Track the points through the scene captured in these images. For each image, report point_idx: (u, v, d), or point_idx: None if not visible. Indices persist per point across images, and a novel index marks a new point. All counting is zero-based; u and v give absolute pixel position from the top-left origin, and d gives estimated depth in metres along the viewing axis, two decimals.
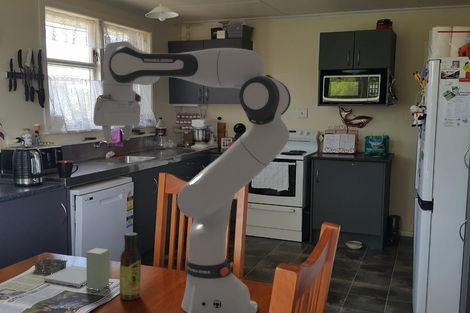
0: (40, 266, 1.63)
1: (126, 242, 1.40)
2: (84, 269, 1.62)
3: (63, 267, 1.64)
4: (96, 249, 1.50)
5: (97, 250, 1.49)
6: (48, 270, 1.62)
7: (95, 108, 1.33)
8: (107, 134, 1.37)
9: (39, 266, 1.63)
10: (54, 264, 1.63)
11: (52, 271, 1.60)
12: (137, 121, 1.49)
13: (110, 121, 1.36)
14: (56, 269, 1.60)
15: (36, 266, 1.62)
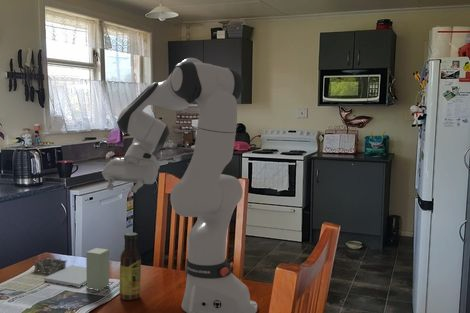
0: (40, 266, 1.63)
1: (126, 242, 1.40)
2: (84, 269, 1.62)
3: (62, 267, 1.63)
4: (96, 249, 1.50)
5: (97, 250, 1.49)
6: (47, 270, 1.62)
7: None
8: None
9: (39, 266, 1.63)
10: (53, 264, 1.63)
11: (51, 271, 1.60)
12: (146, 175, 1.59)
13: (110, 172, 1.64)
14: (55, 269, 1.60)
15: (36, 266, 1.62)
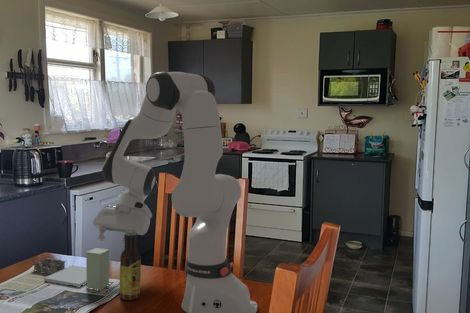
0: (39, 266, 1.63)
1: (126, 242, 1.40)
2: (84, 269, 1.62)
3: (61, 268, 1.63)
4: (96, 249, 1.50)
5: (97, 250, 1.49)
6: (46, 270, 1.61)
7: None
8: None
9: (38, 266, 1.63)
10: (52, 264, 1.62)
11: (49, 271, 1.60)
12: (138, 226, 1.55)
13: (101, 221, 1.60)
14: (53, 270, 1.60)
15: (35, 266, 1.62)
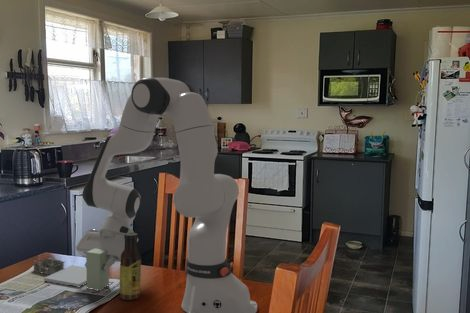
0: (38, 266, 1.63)
1: (126, 242, 1.40)
2: (84, 269, 1.62)
3: (59, 268, 1.62)
4: (96, 249, 1.50)
5: (97, 250, 1.49)
6: (44, 270, 1.61)
7: None
8: None
9: (37, 266, 1.63)
10: (51, 265, 1.62)
11: (47, 272, 1.59)
12: None
13: (84, 247, 1.52)
14: (51, 270, 1.59)
15: (34, 265, 1.63)
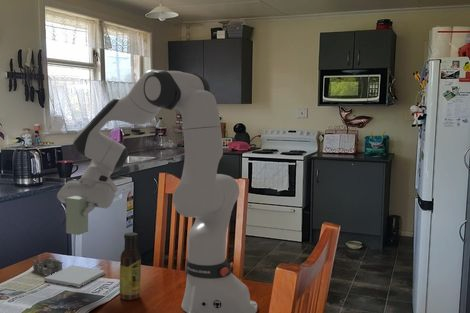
0: (37, 265, 1.63)
1: (126, 242, 1.40)
2: (84, 269, 1.62)
3: (57, 269, 1.62)
4: (76, 196, 1.56)
5: (77, 197, 1.55)
6: (43, 270, 1.61)
7: None
8: None
9: (36, 265, 1.63)
10: (49, 265, 1.62)
11: (44, 272, 1.59)
12: (101, 199, 1.54)
13: (65, 195, 1.59)
14: (48, 270, 1.59)
15: (34, 265, 1.63)
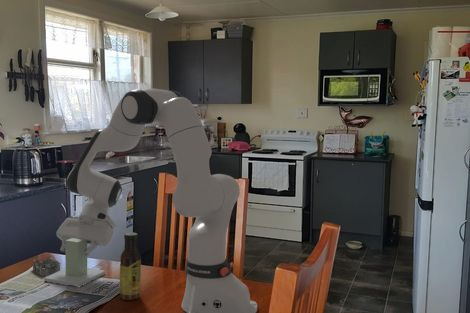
0: None
1: (126, 242, 1.40)
2: None
3: (54, 269, 1.61)
4: (75, 238, 1.58)
5: (76, 238, 1.57)
6: None
7: None
8: None
9: (36, 265, 1.64)
10: (47, 265, 1.62)
11: (41, 272, 1.59)
12: (100, 237, 1.55)
13: (64, 232, 1.60)
14: (44, 271, 1.59)
15: (33, 265, 1.64)
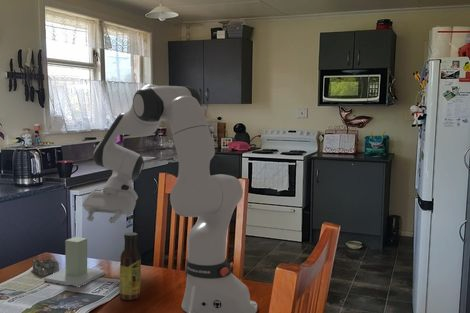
0: None
1: (126, 242, 1.40)
2: None
3: (53, 270, 1.60)
4: (75, 238, 1.58)
5: (76, 238, 1.57)
6: None
7: None
8: None
9: None
10: (46, 265, 1.61)
11: (39, 272, 1.59)
12: (124, 206, 1.66)
13: (90, 203, 1.71)
14: (43, 271, 1.58)
15: (33, 264, 1.64)
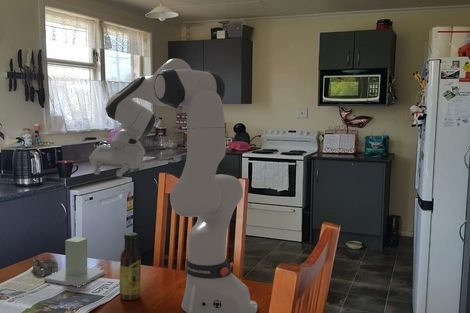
0: None
1: (126, 242, 1.40)
2: None
3: (51, 270, 1.60)
4: (75, 238, 1.58)
5: (76, 238, 1.57)
6: None
7: None
8: None
9: None
10: (45, 265, 1.61)
11: (38, 272, 1.59)
12: (131, 160, 1.64)
13: (96, 157, 1.69)
14: (41, 271, 1.58)
15: (33, 264, 1.64)
